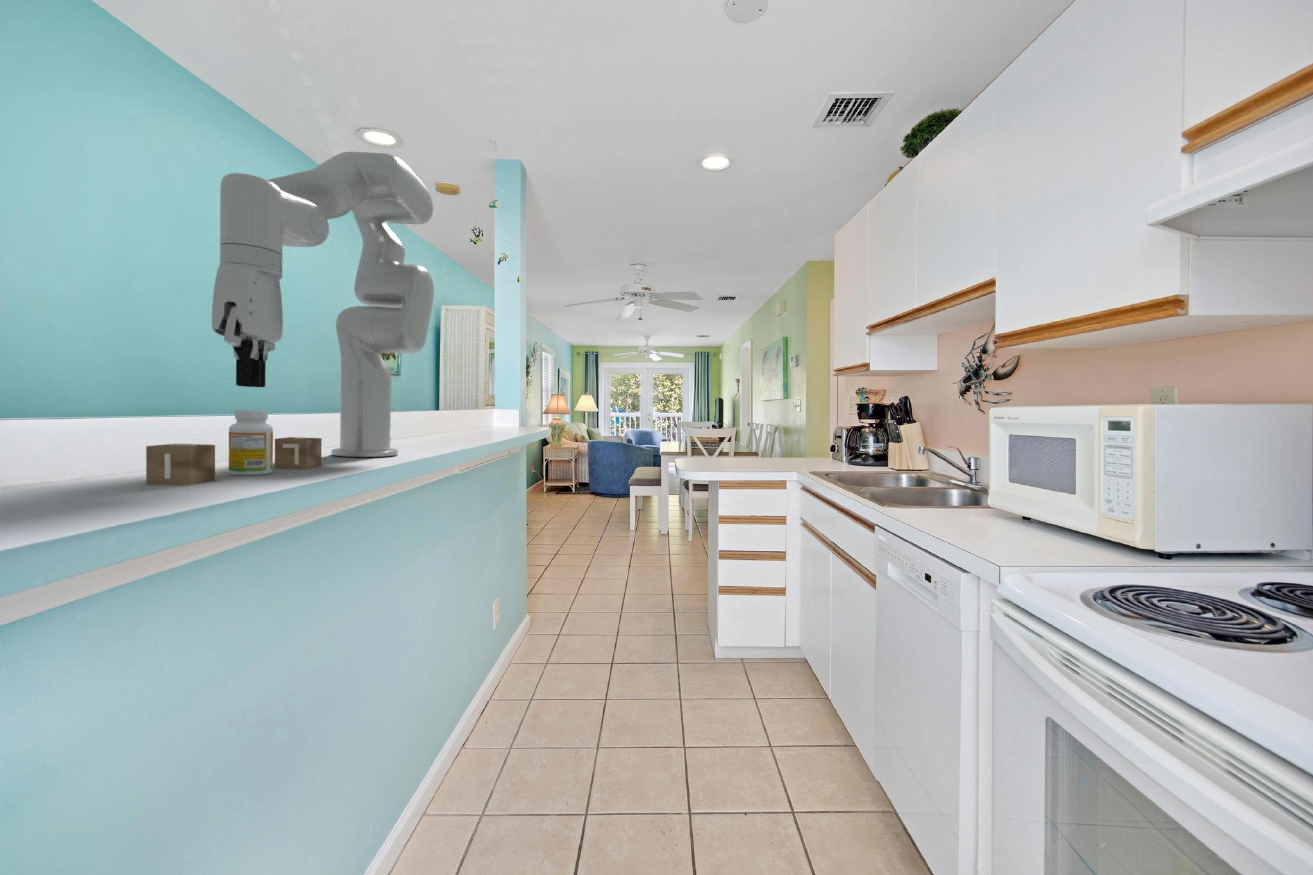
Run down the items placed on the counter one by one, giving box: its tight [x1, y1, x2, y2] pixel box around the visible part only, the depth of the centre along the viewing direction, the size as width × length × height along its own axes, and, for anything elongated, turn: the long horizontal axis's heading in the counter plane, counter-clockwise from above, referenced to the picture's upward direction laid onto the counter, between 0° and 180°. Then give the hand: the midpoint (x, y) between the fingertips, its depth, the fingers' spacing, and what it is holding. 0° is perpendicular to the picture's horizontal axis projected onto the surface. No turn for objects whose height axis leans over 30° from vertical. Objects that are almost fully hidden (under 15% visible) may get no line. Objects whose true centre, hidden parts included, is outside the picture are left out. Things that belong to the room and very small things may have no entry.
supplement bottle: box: [228, 409, 274, 476], centre depth 83 cm, size 5×5×10 cm
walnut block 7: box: [274, 436, 323, 470], centre depth 93 cm, size 5×5×5 cm
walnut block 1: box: [145, 443, 216, 486], centre depth 73 cm, size 5×5×5 cm
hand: (250, 386), depth 82 cm, fingers closed
